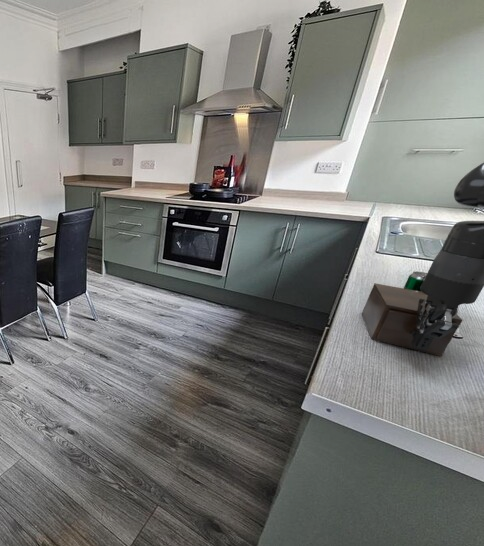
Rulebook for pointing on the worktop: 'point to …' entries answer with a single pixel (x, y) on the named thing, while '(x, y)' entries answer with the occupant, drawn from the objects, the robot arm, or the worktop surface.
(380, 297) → the cabinet
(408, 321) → the drawer
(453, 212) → the worktop surface
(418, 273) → the soda can
